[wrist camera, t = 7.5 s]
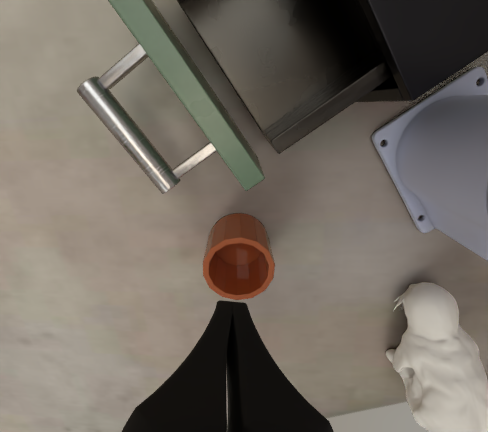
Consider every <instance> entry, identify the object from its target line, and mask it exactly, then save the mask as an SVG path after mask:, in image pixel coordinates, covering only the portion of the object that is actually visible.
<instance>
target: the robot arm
mask: <svg viewBox="0 0 488 432" xmlns="http://www.w3.org/2000/svg"><path fill="white" fill-rule="evenodd" d="M478 79H479V80H480V82H479V84H478V85H477V84H476V81H477V80H478ZM382 140H385V144H384V145H383V146H380V143H381V141H382ZM372 141H373V143H374V145H375V147H376V149H377V151H378V153H379V155H380V157H381V159H382V161H383V163H384V165H385V167H386V168H387V170H388V172H389V174H390V176H391V178H392V180H393V182H394V184H395V186H396V188H397V190H398V192H399V194H400V196H401V198H402V199H403V201H404V203H405V205H406V207H407V209H408V211H409V213H410V215H411V217H412V219H413V221H414V223H415V225H416V227H417V229H418V230H419V231H420V232H422V233H427V232H429V231H431V230H433V229H435V228H436V229H438V230H439V231H441V232H442V233H444V234H446V235H447V236H449V237H450V238H452V239H454V240H455V241H457V242H458V243H460V244H461V245H463V246H465V247H466V248H468V249H469V250H471V251H473V252H474V253H476V254H477V255H479V256H480V257H482V258H484V259H485V260H487V261H488V78H487V75H486V72H485V70H484V68H483V67H474V68H471V69H470V70H468V71H467V72H465V73H464V74H462V75H461V76H459V77H458V78H456V79H455V80H453V81H452V82H450V83H448V84H447V85H445V86H444V87H442V88H441V89H439V90H438V91H436V92H435V93H433V94H432V95H430V96H429V97H427V98H426V99H424V100H422V101H421V102H419V103H418V104H416V105H415V106H413V107H412V108H410V109H409V110H407V111H406V112H404V113H403V114H401V115H400V116H398V117H397V118H395V119H393V120H392V121H390V122H389V123H387V124H386V125H384V126H383V127H381V128H380V129H378V130H377V131H375V132H374V133H373V135H372ZM420 215H422V217H421V218H420V219H418V217H419V216H420ZM226 365H227V390H228V426H227V413H226ZM122 432H333V429H332V427H331V425H330V423H329V421H328V420H327V419H326V418H325V417H324V416H323V415H321V414H320V413H319V412H318V411H317V410H316V409H315V408H314V407H313V406H312V405H310V404H309V403H308V402H307V401H306V400H305V399H304V397H303V396H302V395H301V394H300V393H299V392H298V391H297V390H296V389H295V387H294V386H293V385H292V384H291V383H290V382H289V380H288V379H287V378H286V377H285V375H284V374H283V373H282V371H281V370H280V369H279V367H278V366H277V364H276V363H275V361H274V360H273V358H272V357H271V355H270V354H269V352H268V350H267V349H266V347H265V345H264V343H263V342H262V340H261V338H260V336H259V334H258V332H257V330H256V328H255V325H254V323H253V321H252V318H251V316H250V313H249V310H248V307H247V305H246V303H240V302H230V301H218V302H217V305H216V309H215V311H214V314H213V316H212V318H211V320H210V322H209V324H208V326H207V328H206V330H205V332H204V333H203V335H202V336H201V338H200V340H199V341H198V343H197V344H196V346H195V347H194V349H193V350H192V351H191V353H190V354H189V355H188V357H187V358H186V359H185V360H184V362H183V363H182V364H181V365H180V366H179V368H178V369H177V370H176V371H175V372H174V373H173V374H172V375H171V376H170V377H169V378H168V379H167V380H166V381H165V382H164V383H163V384H162V385H161V386H160V387H159V388H158V389H157V390H156V391H155V392H154V393H153V394H152V395H150V396H149V397H148V398H147V399H146V400H144V401H143V402H142V403H141V404H140V405H139V406H137V407H136V408H135V410H134V411H133V413H132V415H131V416H130V418H129V419H128V421H127V423H126V425H125V426H124V428H123V430H122Z"/></svg>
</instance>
